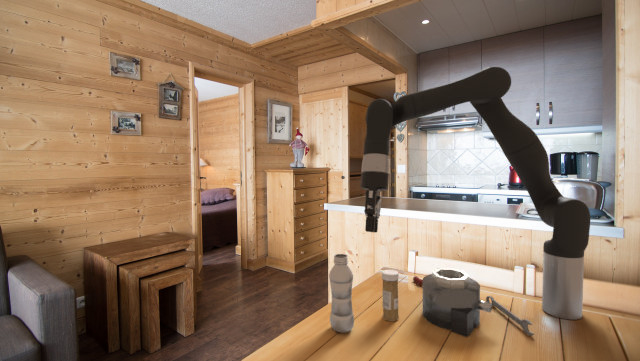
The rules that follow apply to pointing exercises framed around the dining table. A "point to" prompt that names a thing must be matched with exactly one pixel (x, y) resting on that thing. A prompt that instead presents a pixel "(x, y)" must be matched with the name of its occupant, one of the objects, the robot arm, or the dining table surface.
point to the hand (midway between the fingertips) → (371, 232)
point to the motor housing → (453, 301)
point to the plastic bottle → (341, 295)
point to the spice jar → (390, 295)
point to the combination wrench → (512, 316)
